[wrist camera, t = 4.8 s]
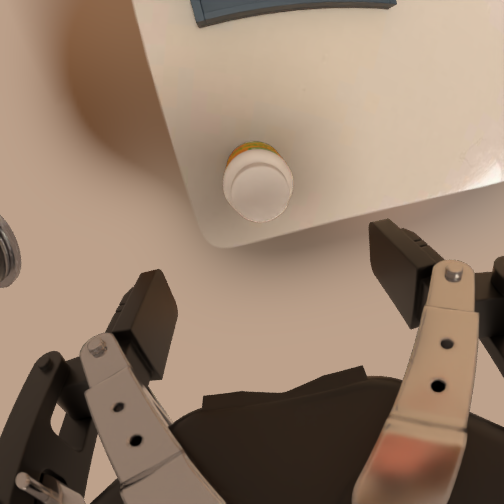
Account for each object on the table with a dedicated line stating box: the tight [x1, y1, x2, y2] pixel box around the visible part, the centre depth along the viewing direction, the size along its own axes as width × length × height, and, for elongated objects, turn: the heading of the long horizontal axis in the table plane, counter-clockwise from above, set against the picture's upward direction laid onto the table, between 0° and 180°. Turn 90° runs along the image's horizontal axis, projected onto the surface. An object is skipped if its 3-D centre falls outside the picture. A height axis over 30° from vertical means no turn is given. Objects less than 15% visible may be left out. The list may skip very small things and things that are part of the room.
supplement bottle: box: [223, 141, 293, 222], centre depth 24 cm, size 5×5×10 cm
